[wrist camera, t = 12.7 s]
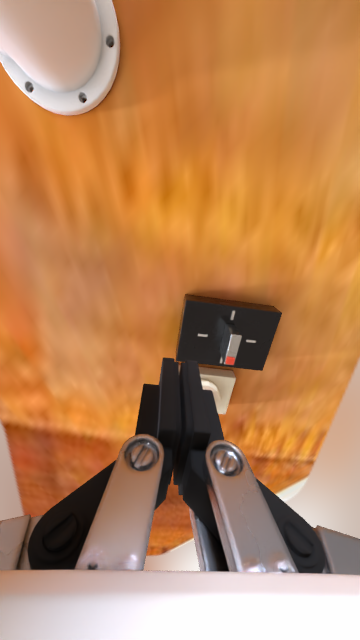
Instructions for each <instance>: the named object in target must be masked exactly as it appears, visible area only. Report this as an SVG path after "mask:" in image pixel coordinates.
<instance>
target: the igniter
mask: <svg viewBox="0 0 360 640" xmlns="http://www.w3.org/2000/svg"><path fill="white" fill-rule="evenodd" d="M180 367H181V365H179V372H180ZM199 371H200V377H201V382H202V387H203V389H204V390H211V391H212V392H213V395H214V399H215V404H216V408H217V412H218V414H226V411H227V407H228V404H229V400H230V397H231V393H232V390H233V387H234V383H235V380H236V377H235V375H234V372H233V371H232V370H223V369H214V368H205V367H199Z"/></svg>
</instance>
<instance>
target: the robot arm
mask: <svg viewBox="0 0 360 640" xmlns="http://www.w3.org/2000/svg"><path fill="white" fill-rule="evenodd" d="M112 45H113V47H111V48H110V46H112ZM119 56H120V37H119V27H118V22H117V17H116V13H115V9H114V6H113V3H112V0H0V61H1V63H2V65H3V67H4V69H5V70H6V72H7V73H8V74H9V76H10V77H11V79H12V80H13V82H14V83H15V84H16V85H17V86H18V87H19V88H20V89H21V90H22V91H23V92H24V93H25V94H26V95H27V96H28V97H29V98H30V99H31V100H33V101H34V102H35V103H37V104H38V105H40V106H41V107H43V108H44V109H46V110H49V111H51V112H54V113H56V114H62V115H79V114H82V113H85V112H88V111H89V110H91V109H93V108H94V107H96V106H97V105H98V104H99V103H100V102H101V101H102V100H103V99H104V98H105V97H106V95H107V93H108V92H109V90H110V89H111V87H112V84H113V82H114V79H115V77H116V73H117V69H118V64H119ZM32 90H33V92H32ZM85 99H86V100H87V101H86V102H85V103H84V100H85ZM172 473H173V481H174V485H178V490H179V495H183V500H184V501H185V503H186V504H187V505H188V506H189V507H190V508H189V509H190V519H191V524H192V529H193V535H194V540H195V545H196V551H197V556H198V562H199V567H200V571H143V569H144V564H145V558H146V553H147V548H148V542H149V537H150V531H151V526H152V520H153V515H154V511H155V509H156V508H157V507H158V506H159V505H160V504H161V503H162V502H163V501H164V500H165V498H166V494H167V489H168V484H169V485H170V482H171V477H172ZM0 640H360V539H358V538H355V537H352V536H349V535H346V534H343V533H340V532H337V531H333V530H330V529H327V528H324V527H321V526H317V527H316V528H313V527H311V526H310V525H309V524H308V523H307V522H306V521H305V520H304V519H303V518H302V517H301V516H299V515H298V514H297V513H296V512H295V511H294V510H292V509H291V508H290V507H289V506H288V505H287V504H286V503H284V502H283V501H282V500H281V499H280V498H279V497H277V496H276V495H275V494H274V493H273V492H272V491H270V490H269V489H268V488H267V487H266V486H265V485H263V484H262V483H261V482H260V481H259V480H258V479H256V478H255V476H254V474H253V472H252V470H251V467H250V465H249V463H248V461H247V459H246V457H245V455H244V454H243V452H242V451H241V450H240V449H239V448H238V447H237V446H236V445H234V444H233V443H231V442H229V441H226V440H224V437H223V432H222V428H221V424H220V420H219V416H218V412H217V408H216V404H215V399H214V395H213V392H212V391H211V390H204V389H203V387H202V382H201V377H200V371H199V366H198V362H197V361H191V360H186V361H185V363H181V367H180V372H179V365H178V362H174V359H173V358H163V361H162V367H161V374H160V381H159V385H152V384H144V385H143V391H142V397H141V403H140V409H139V415H138V421H137V427H136V433H135V436H133V437H131V438H129V439H128V440H127V441H126V442H125V443H124V444H123V446H122V448H121V450H120V452H119V455H118V458H117V460H115V461H114V462H113V463H111V464H110V465H109V466H107V467H106V468H105V469H103V470H102V471H101V472H99V473H98V474H97V475H95V476H94V477H93V478H91V479H90V480H89V481H87V482H86V483H85V484H83V485H82V486H80V487H79V488H78V489H76V490H75V491H74V492H72V493H71V494H70V495H68V496H67V497H66V498H64V499H63V500H62V501H60V502H59V503H58V504H56V505H55V506H54V507H52V508H51V509H50V510H49V511H48V512H46V513H45V514H44V515H41V516H36V517H32V518H31V516H30V515H25V516H21V517H16V518H12V519H7V520H2V521H0Z"/></svg>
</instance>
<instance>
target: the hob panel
mask: <svg viewBox="0 0 360 640" xmlns="http://www.w3.org/2000/svg"><path fill="white" fill-rule="evenodd" d="M281 315H282V313H281V312H280V311H279V310H278V309H276V308H275V307H274V306H268V305H261V304H253V303H246V302H239V301H231V300H224V299H217V298H209V297H202V296H195V295H187V294H185V297H184V303H183V309H182V315H181V322H180V328H179V334H178V341H177V347H176V361H181V362H185V361H186V360H191V361H197V362H198V363H199V364H208V365H217V366H225V367H234V368H243V369H252V370H261V371H262V370H263V367H264V364H265V361H266V358H267V355H268V353H269V350H270V347H271V344H272V341H273V338H274V335H275V332H276V329H277V326H278V323H279V320H280V317H281ZM226 324H232V325H236V327H237V329H238V330H239V332H240V333H241V335H242V338H241V341H240V345H239V348H238V352H237V355H236V359H235V362H234V365H228V364H224V363H223V360H222V357H221V354H220V352H219V350H220V346H221V342H222V338H223V334H224V330H225V325H226Z"/></svg>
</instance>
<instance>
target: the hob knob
mask: <svg viewBox="0 0 360 640" xmlns="http://www.w3.org/2000/svg"><path fill="white" fill-rule="evenodd" d="M241 338H242V335H241V333H240V332H239V330H238V329H237V327H236V325H232V324H226V325H225V330H224V334H223V338H222V342H221V346H220V350H219V352H220V354H221V357H222V360H223V363H224V364H228V365H234V362H235V359H236V355H237V352H238V348H239V345H240V341H241Z"/></svg>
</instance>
